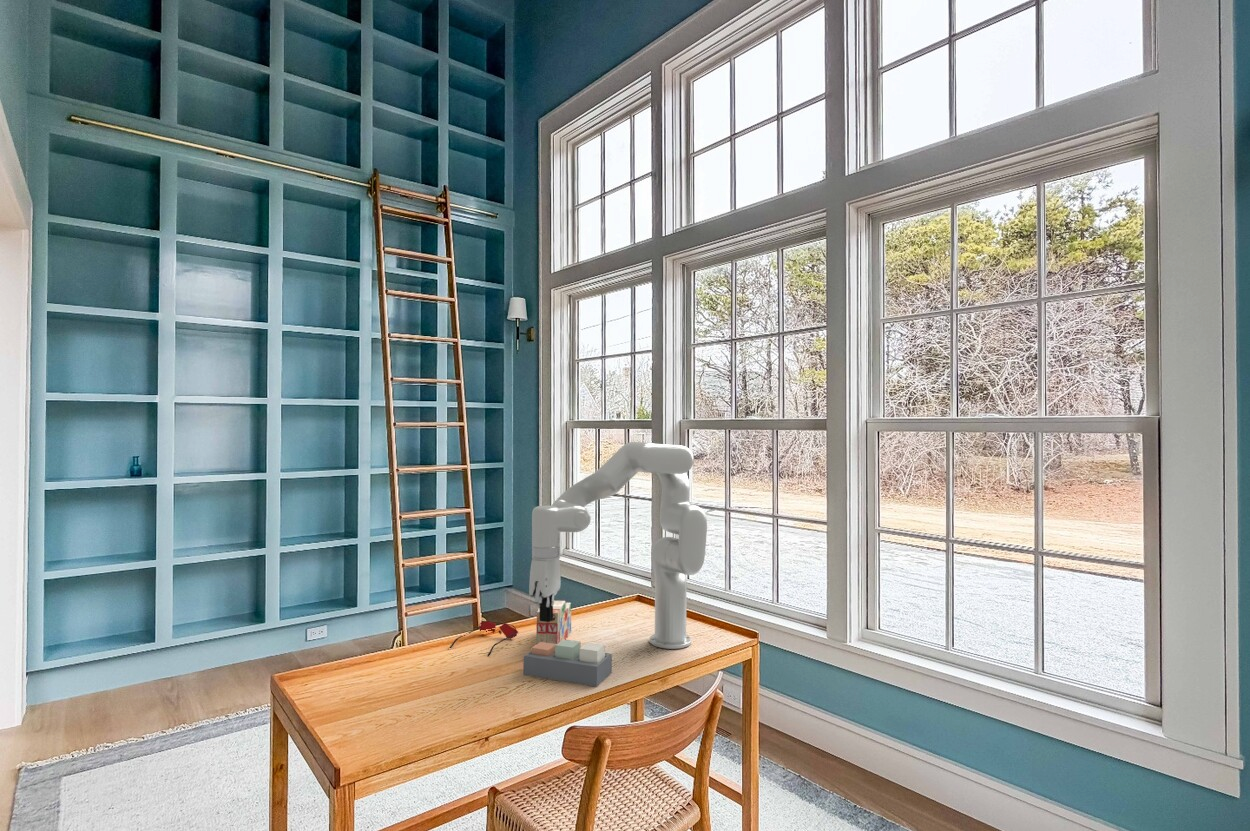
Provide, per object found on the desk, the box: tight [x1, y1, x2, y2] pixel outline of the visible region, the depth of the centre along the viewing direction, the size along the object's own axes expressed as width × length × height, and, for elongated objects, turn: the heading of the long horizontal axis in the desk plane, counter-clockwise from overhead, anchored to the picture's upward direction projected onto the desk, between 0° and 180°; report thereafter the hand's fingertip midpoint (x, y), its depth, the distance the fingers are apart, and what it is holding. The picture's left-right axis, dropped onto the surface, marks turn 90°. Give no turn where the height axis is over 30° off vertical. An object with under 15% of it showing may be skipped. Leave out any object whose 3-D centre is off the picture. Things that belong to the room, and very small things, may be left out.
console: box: [522, 649, 613, 688], centre depth 175 cm, size 10×21×5 cm, turn 69°
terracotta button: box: [531, 642, 556, 656], centre depth 178 cm, size 5×5×5 cm
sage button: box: [555, 639, 582, 660], centre depth 175 cm, size 5×5×5 cm
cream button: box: [580, 642, 606, 663], centre depth 173 cm, size 5×5×5 cm
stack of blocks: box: [535, 600, 572, 645], centre depth 200 cm, size 21×6×12 cm, turn 174°
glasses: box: [449, 620, 519, 657], centre depth 198 cm, size 14×16×5 cm
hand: (546, 620), depth 178 cm, fingers closed
